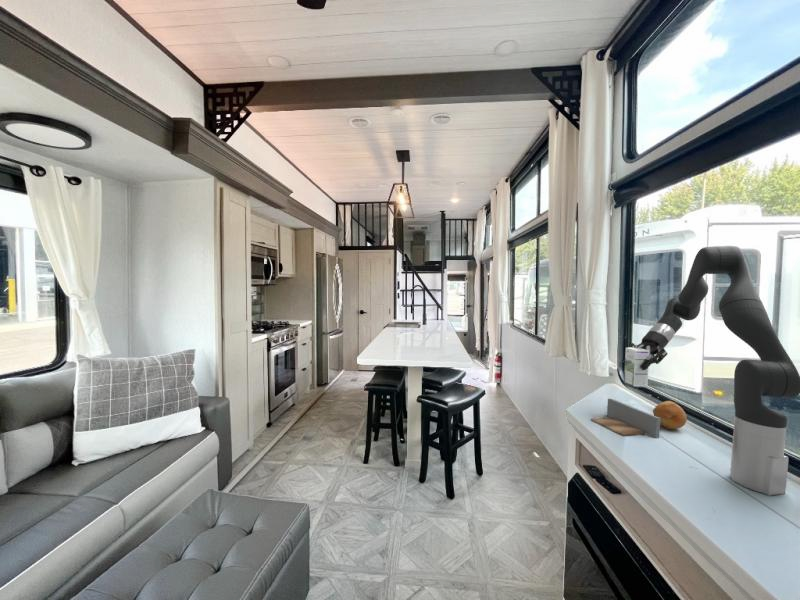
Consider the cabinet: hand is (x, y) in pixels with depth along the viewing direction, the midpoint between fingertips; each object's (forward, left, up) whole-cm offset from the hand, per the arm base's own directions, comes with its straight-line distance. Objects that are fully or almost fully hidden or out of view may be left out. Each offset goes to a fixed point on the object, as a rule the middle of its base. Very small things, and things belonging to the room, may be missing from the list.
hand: (633, 366), depth 129 cm
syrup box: (0, -2, -8) cm, 8 cm away
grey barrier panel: (-5, +5, -22) cm, 23 cm away
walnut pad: (-5, +12, -22) cm, 25 cm away
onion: (-9, -8, -22) cm, 25 cm away
